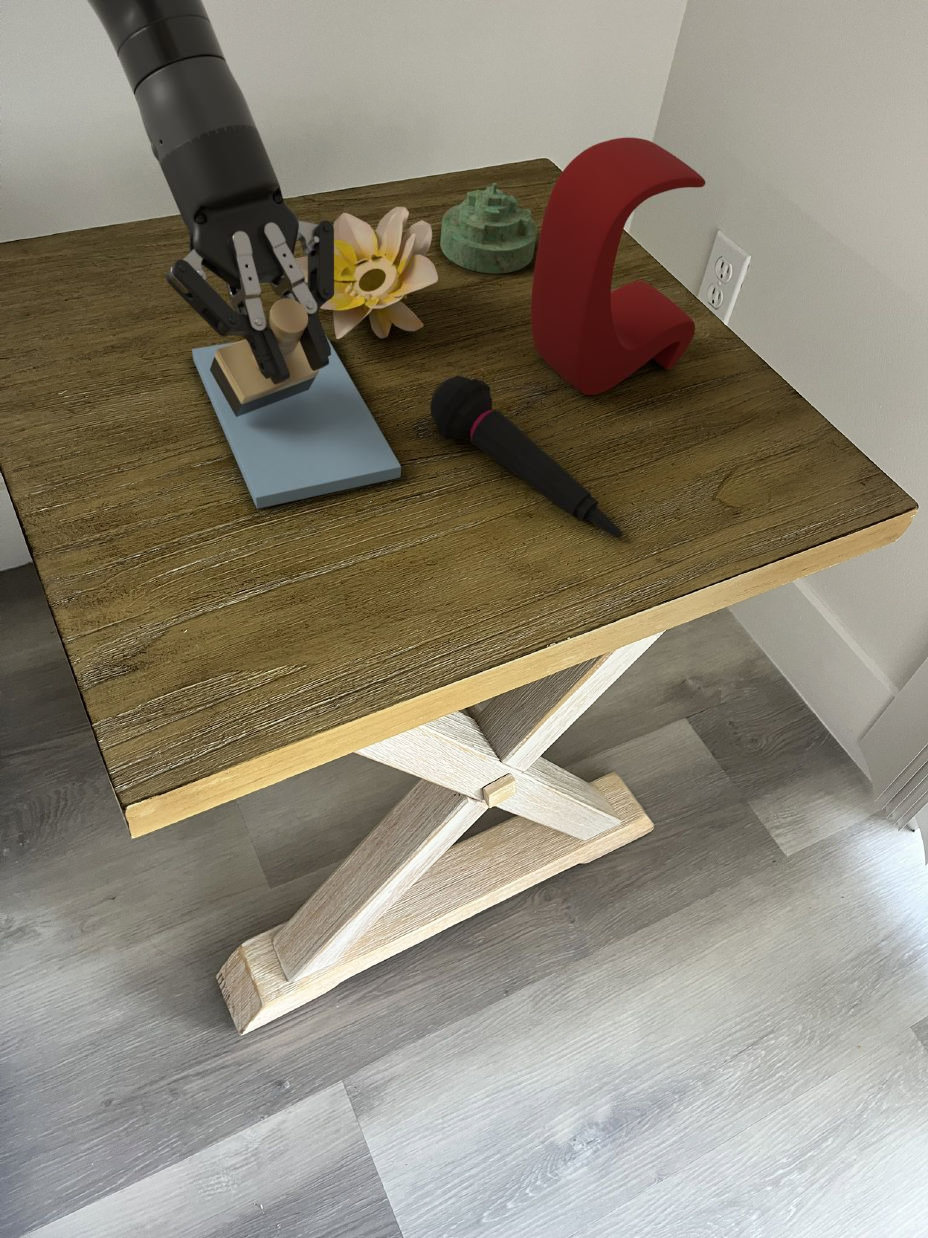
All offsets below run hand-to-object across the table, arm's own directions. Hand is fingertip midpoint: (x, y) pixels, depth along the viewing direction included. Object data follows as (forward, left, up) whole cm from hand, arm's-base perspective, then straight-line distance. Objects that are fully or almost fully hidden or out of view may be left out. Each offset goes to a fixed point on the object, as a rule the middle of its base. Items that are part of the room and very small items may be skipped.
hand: (301, 373), depth 75 cm
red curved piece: (+31, +4, -8) cm, 32 cm away
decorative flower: (+12, +19, -8) cm, 24 cm away
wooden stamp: (-2, +7, -5) cm, 8 cm away
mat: (+1, +5, -8) cm, 9 cm away
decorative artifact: (+29, +26, -8) cm, 39 cm away
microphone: (+16, -8, -8) cm, 19 cm away
